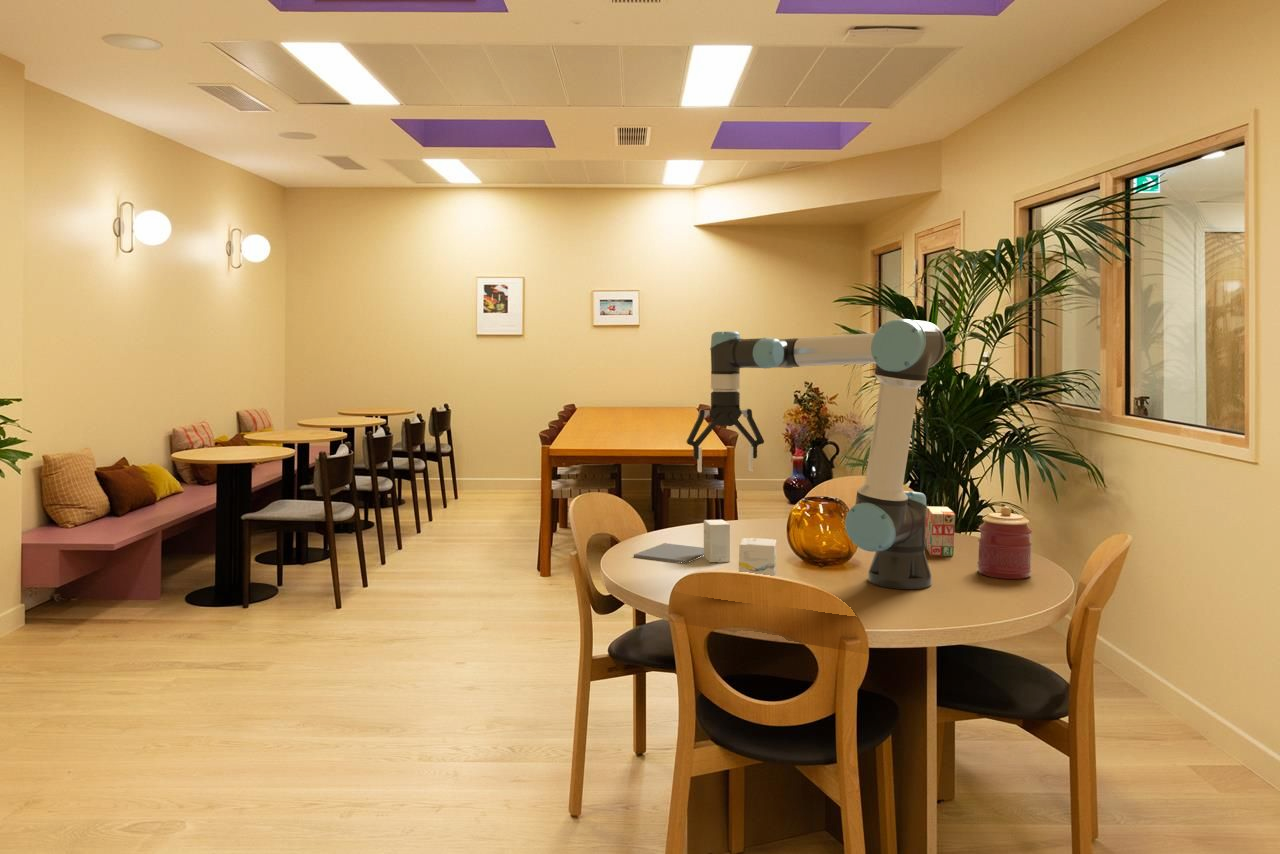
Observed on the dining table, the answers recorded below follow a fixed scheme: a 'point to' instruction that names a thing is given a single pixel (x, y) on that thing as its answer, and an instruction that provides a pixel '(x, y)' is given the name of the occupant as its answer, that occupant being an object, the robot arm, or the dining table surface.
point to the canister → (1005, 545)
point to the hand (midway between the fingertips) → (725, 471)
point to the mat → (671, 553)
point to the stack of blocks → (940, 531)
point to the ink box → (758, 556)
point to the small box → (716, 541)
